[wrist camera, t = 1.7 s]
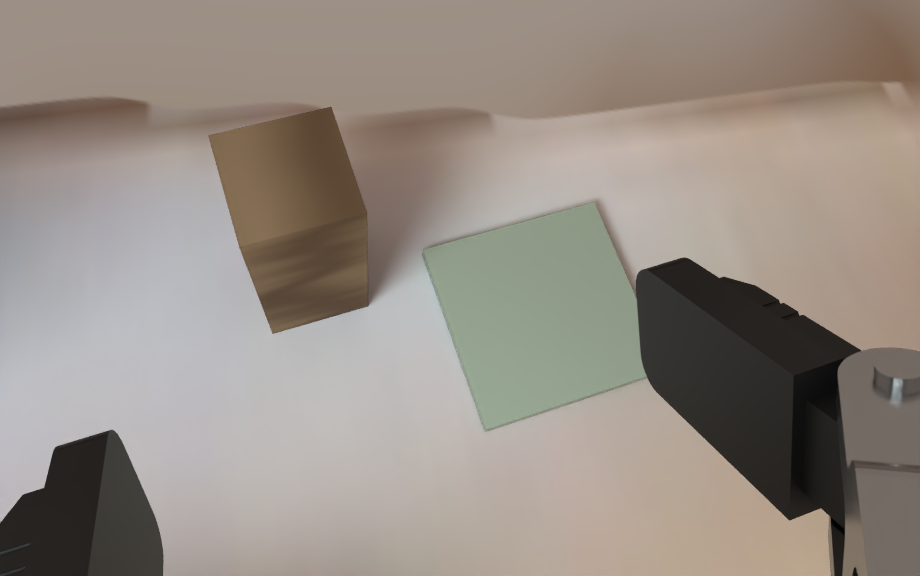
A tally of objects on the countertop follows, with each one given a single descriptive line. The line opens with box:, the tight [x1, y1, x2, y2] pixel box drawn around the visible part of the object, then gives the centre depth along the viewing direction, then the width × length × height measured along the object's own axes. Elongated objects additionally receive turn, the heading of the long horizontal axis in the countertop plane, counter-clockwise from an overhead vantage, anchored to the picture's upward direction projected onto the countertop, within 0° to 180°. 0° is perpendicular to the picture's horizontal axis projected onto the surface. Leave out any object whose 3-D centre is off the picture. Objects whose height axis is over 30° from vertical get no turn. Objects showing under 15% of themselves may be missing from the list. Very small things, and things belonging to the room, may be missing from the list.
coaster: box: [422, 202, 647, 432], centre depth 38 cm, size 9×9×1 cm
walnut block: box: [208, 107, 368, 334], centre depth 33 cm, size 4×4×10 cm
